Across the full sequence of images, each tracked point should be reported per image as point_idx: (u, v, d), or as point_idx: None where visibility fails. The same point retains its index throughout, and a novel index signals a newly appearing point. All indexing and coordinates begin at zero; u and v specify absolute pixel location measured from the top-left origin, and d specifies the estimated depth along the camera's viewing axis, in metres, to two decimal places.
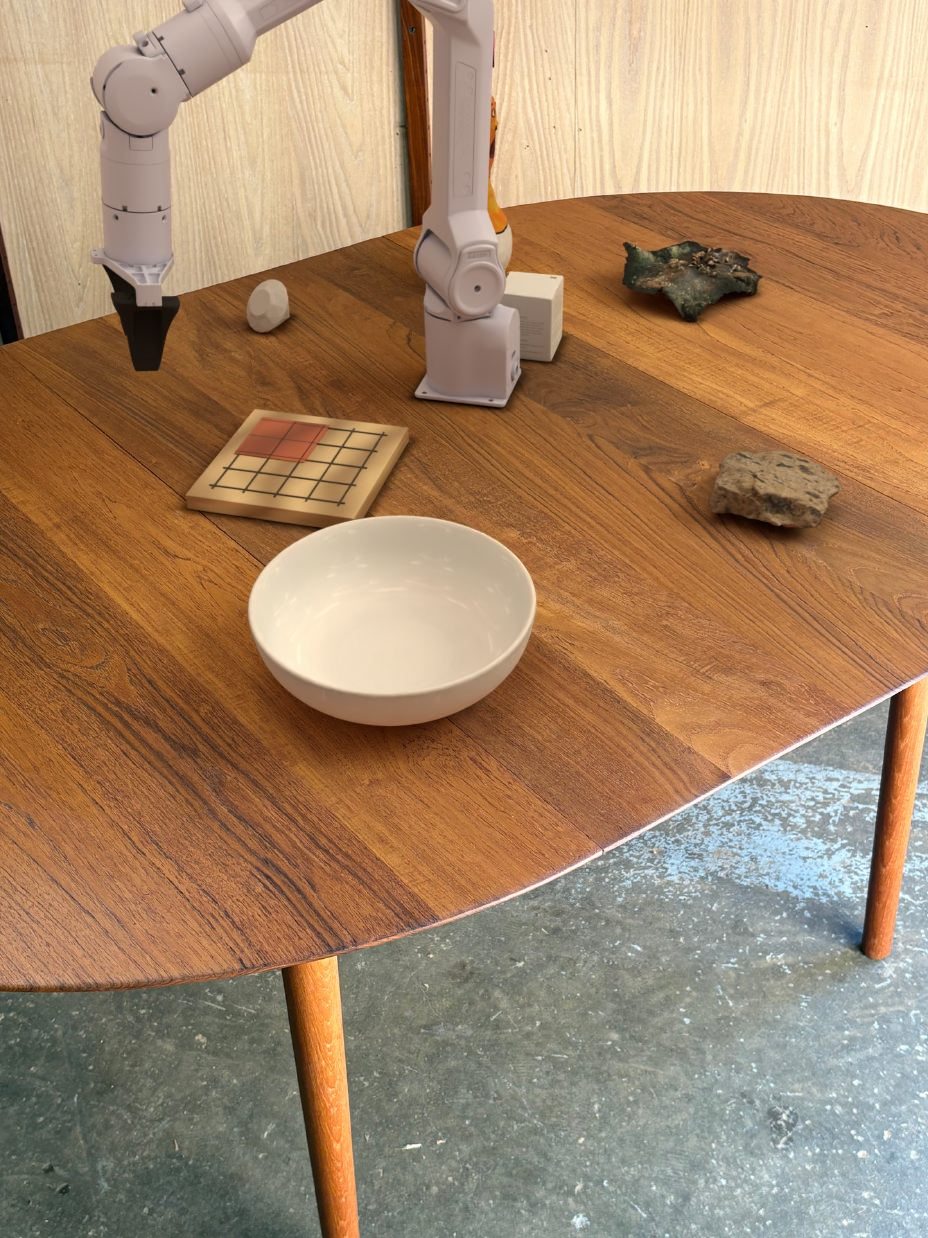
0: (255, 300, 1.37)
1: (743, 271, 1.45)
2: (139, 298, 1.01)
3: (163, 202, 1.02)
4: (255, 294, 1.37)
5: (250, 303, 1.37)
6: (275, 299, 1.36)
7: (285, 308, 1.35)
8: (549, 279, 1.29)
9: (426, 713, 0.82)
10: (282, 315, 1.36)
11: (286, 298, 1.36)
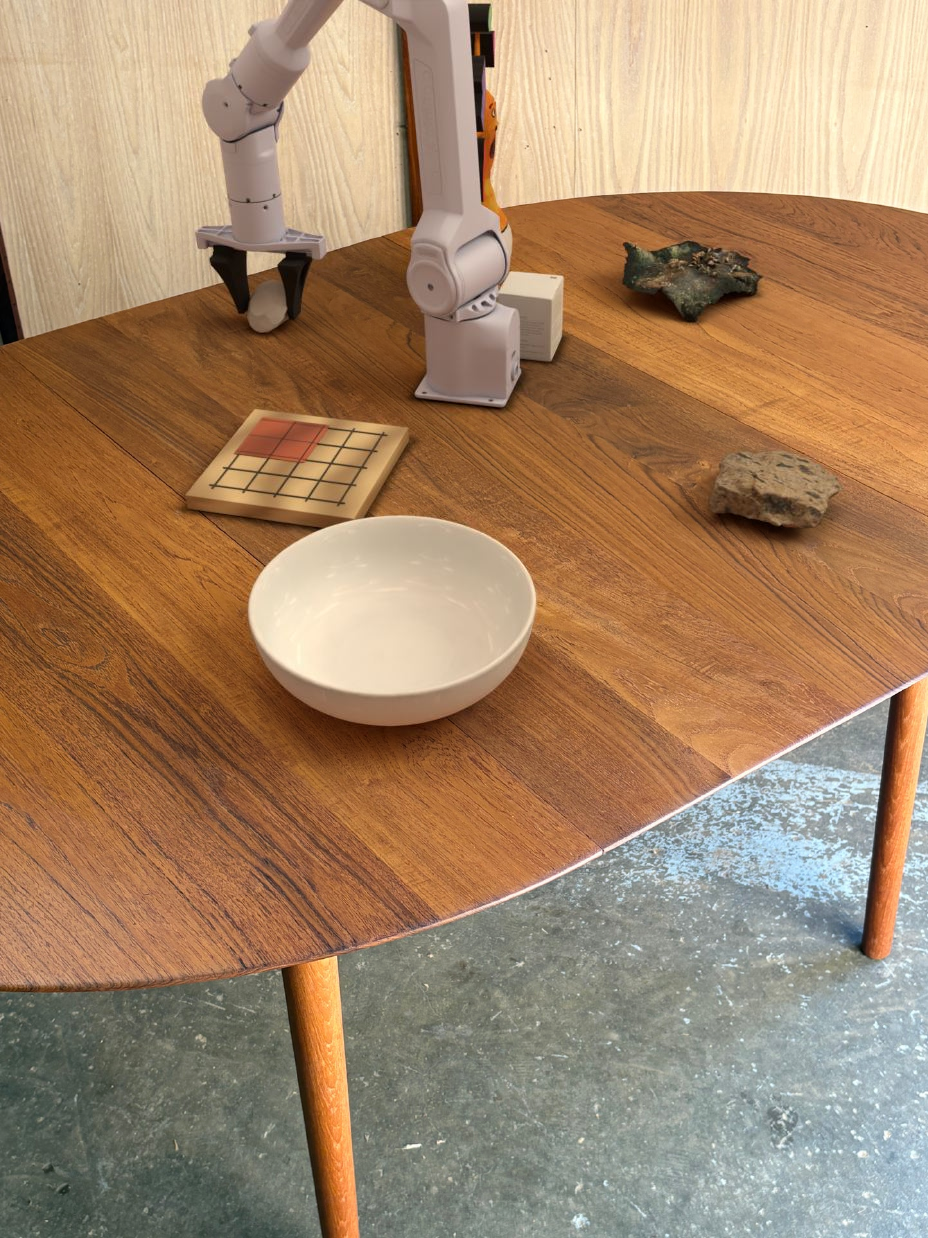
0: (256, 301, 1.37)
1: (743, 271, 1.45)
2: None
3: (252, 196, 1.27)
4: (255, 294, 1.37)
5: (250, 303, 1.37)
6: (275, 299, 1.35)
7: (285, 308, 1.35)
8: (549, 279, 1.29)
9: (426, 713, 0.82)
10: (282, 315, 1.35)
11: None
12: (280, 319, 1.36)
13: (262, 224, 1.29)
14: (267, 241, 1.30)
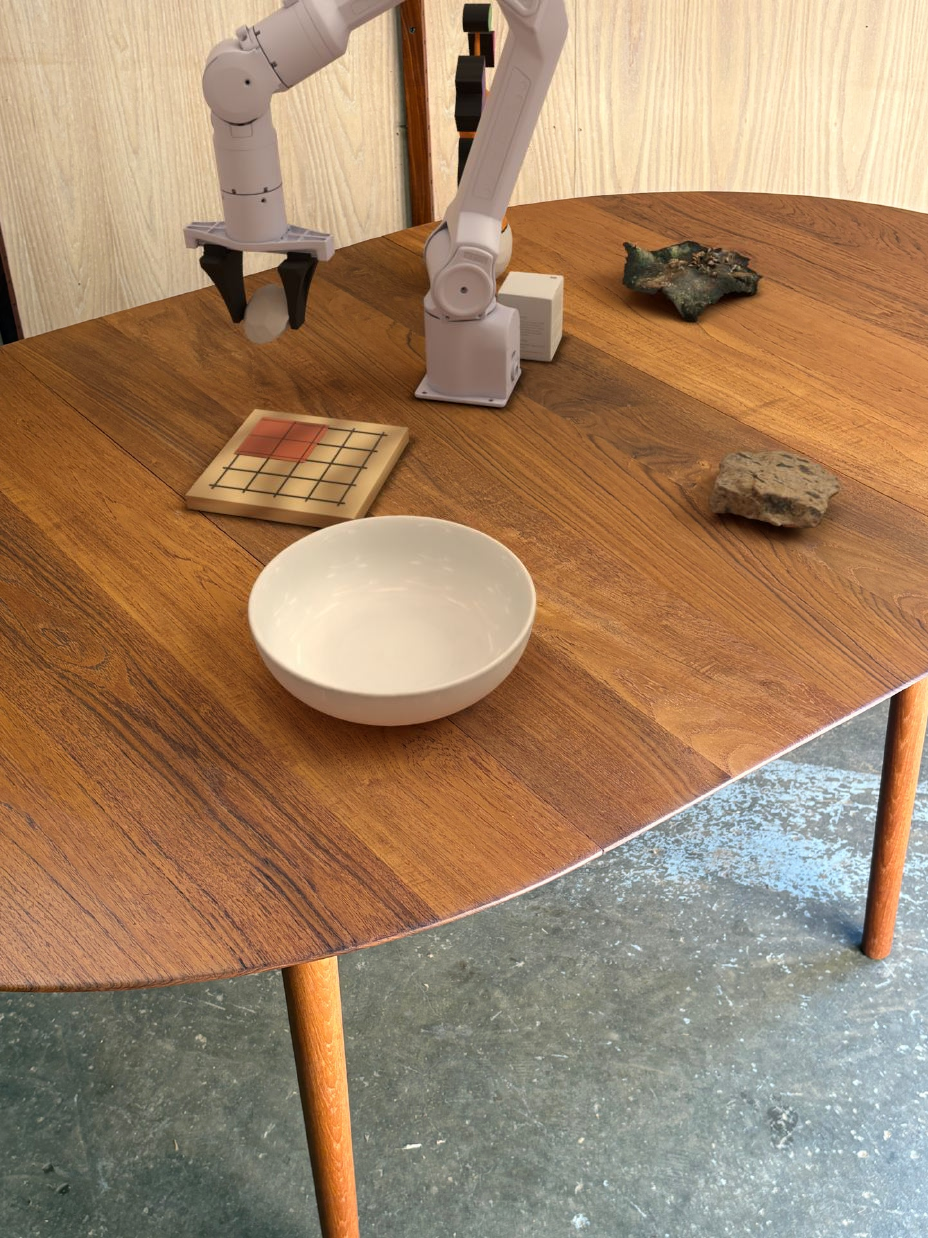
0: (253, 308, 1.19)
1: (743, 271, 1.45)
2: None
3: (269, 183, 1.10)
4: (253, 301, 1.19)
5: (247, 311, 1.19)
6: (275, 306, 1.18)
7: (287, 317, 1.18)
8: (549, 279, 1.29)
9: (426, 713, 0.82)
10: (283, 325, 1.18)
11: None
12: (281, 329, 1.18)
13: (260, 219, 1.11)
14: (265, 240, 1.12)
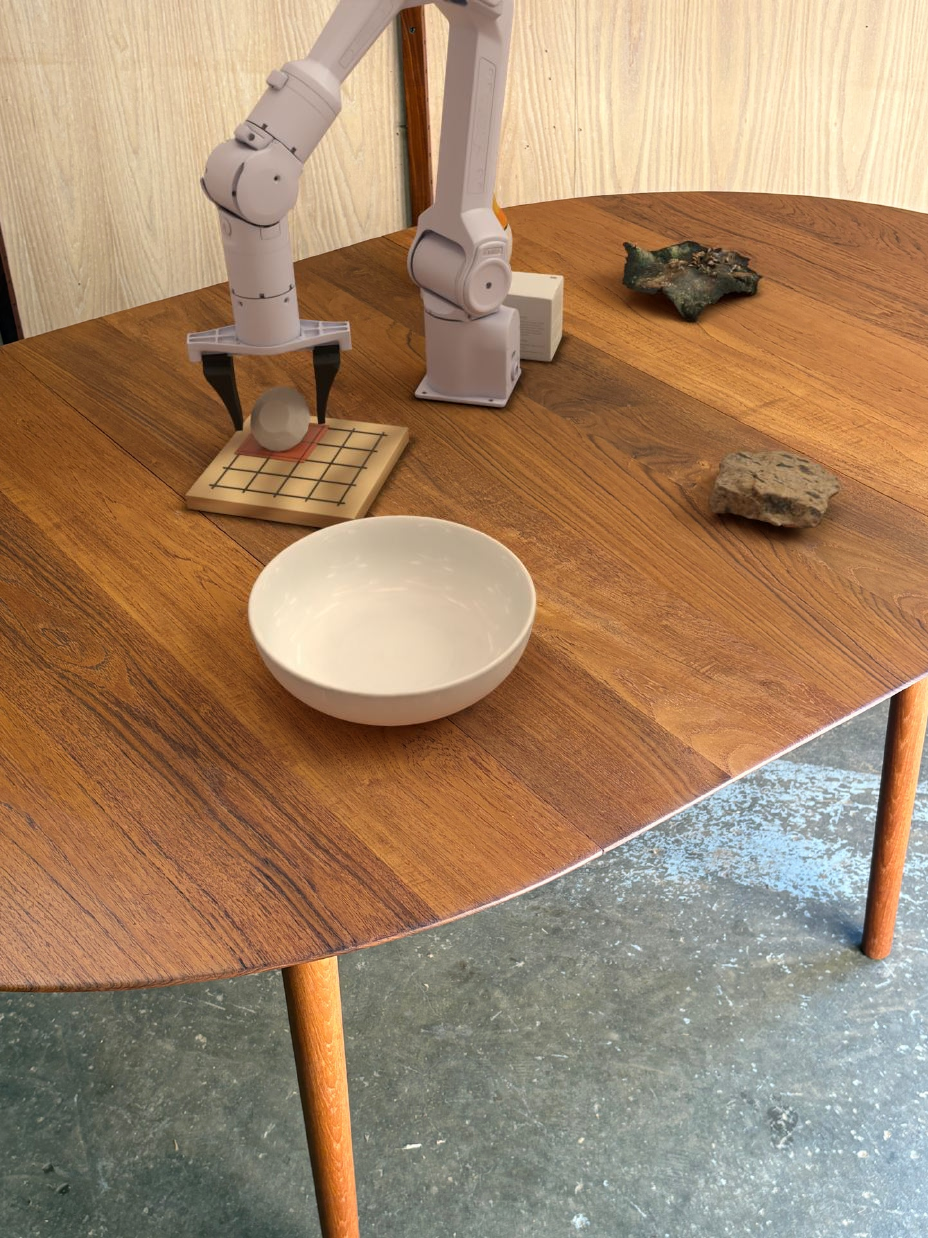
0: (267, 415, 1.13)
1: (743, 271, 1.45)
2: None
3: (292, 280, 1.05)
4: (264, 408, 1.13)
5: (260, 419, 1.14)
6: (294, 409, 1.13)
7: (308, 418, 1.13)
8: (549, 279, 1.29)
9: (426, 713, 0.82)
10: (307, 427, 1.13)
11: (306, 406, 1.13)
12: (305, 431, 1.13)
13: (284, 320, 1.06)
14: (289, 339, 1.07)
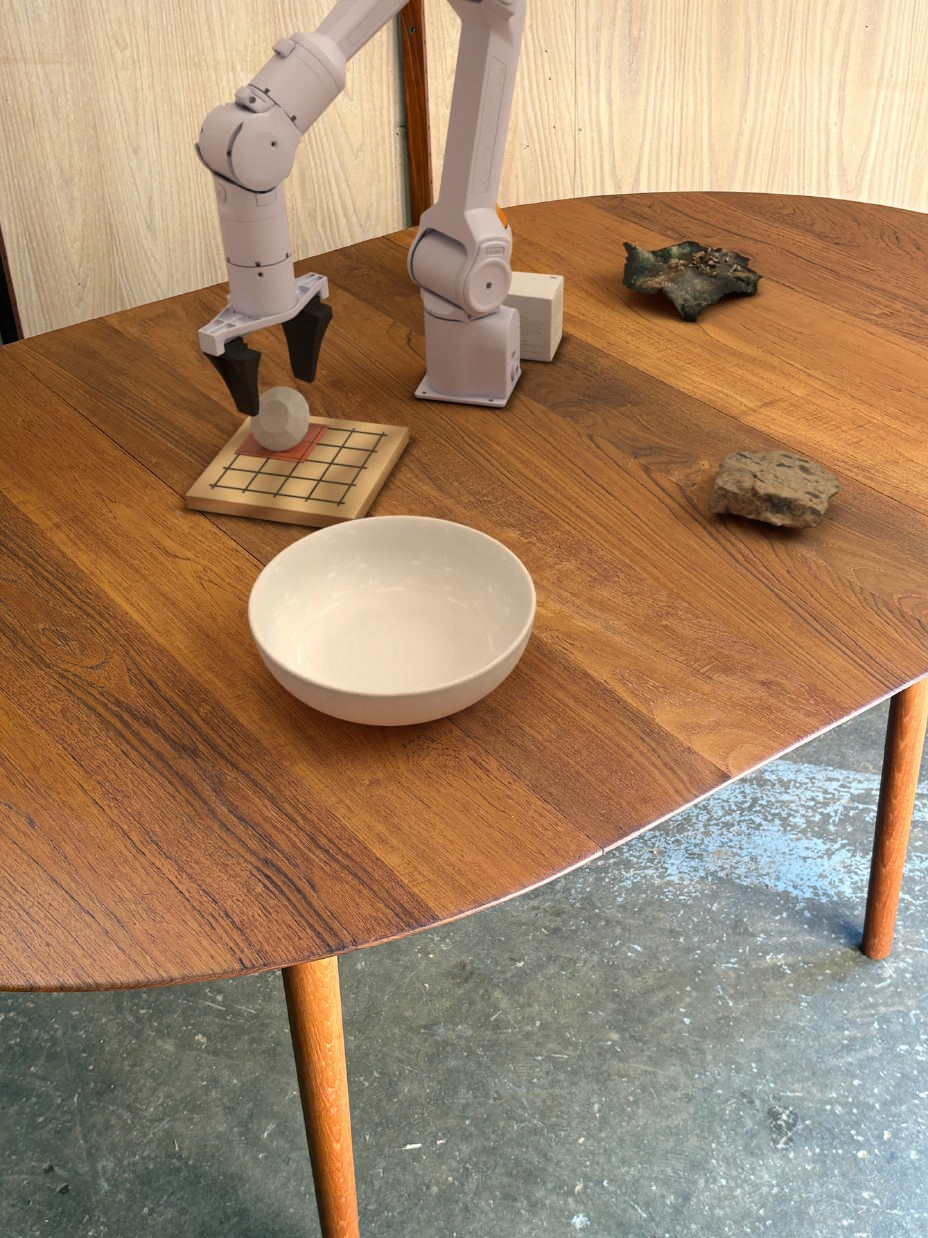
0: (267, 415, 1.13)
1: (743, 271, 1.45)
2: (200, 343, 1.04)
3: (288, 248, 1.04)
4: (264, 408, 1.13)
5: (260, 419, 1.14)
6: (294, 409, 1.13)
7: (308, 418, 1.13)
8: (549, 279, 1.29)
9: (426, 713, 0.82)
10: (307, 427, 1.13)
11: (306, 406, 1.13)
12: (305, 431, 1.13)
13: (294, 279, 1.06)
14: (297, 299, 1.07)
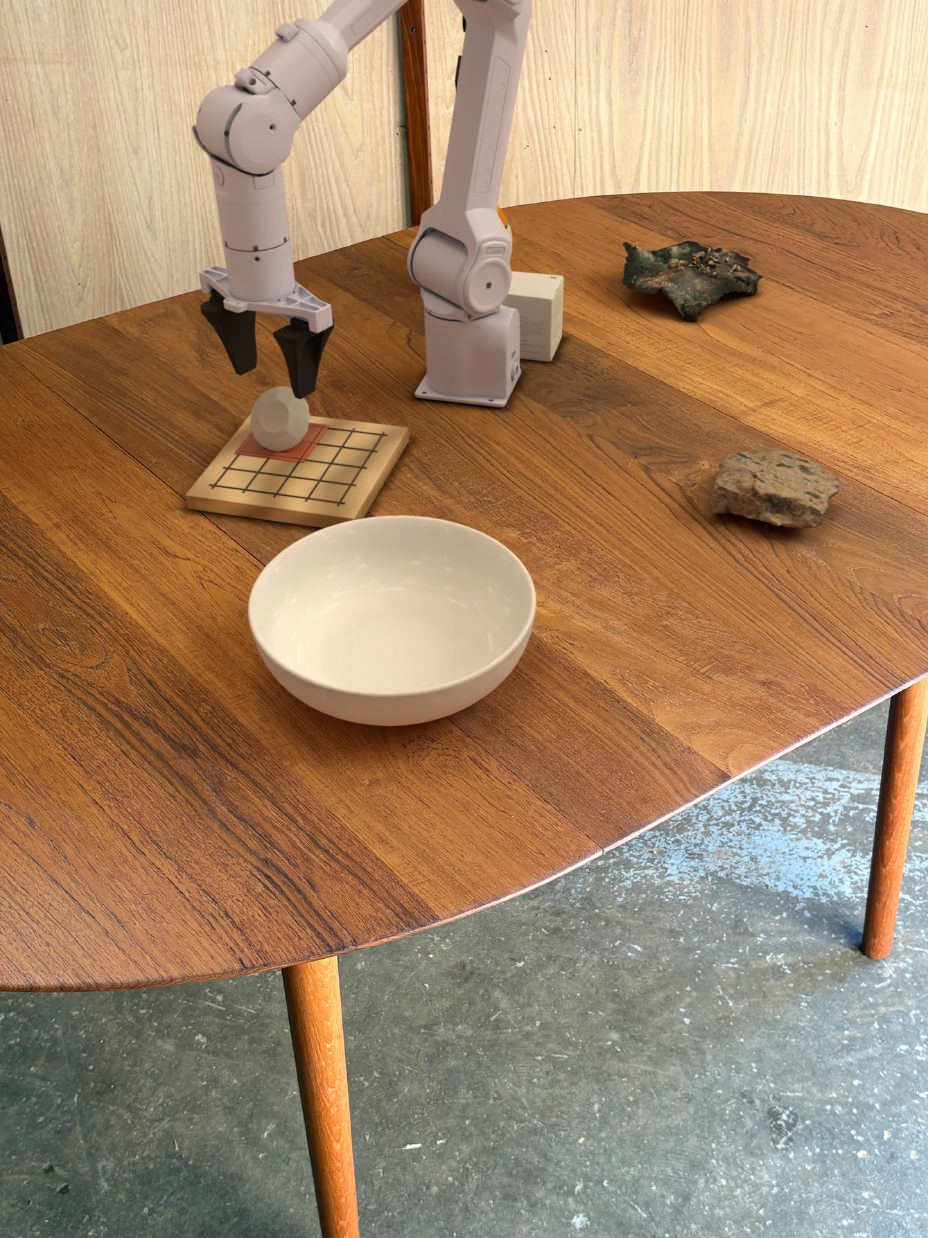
0: (267, 415, 1.13)
1: (743, 271, 1.45)
2: (317, 325, 1.03)
3: (286, 232, 1.03)
4: (264, 408, 1.13)
5: (260, 419, 1.14)
6: (294, 409, 1.13)
7: (308, 418, 1.13)
8: (549, 279, 1.29)
9: (426, 713, 0.82)
10: (307, 427, 1.13)
11: (306, 406, 1.13)
12: (305, 431, 1.13)
13: None
14: None
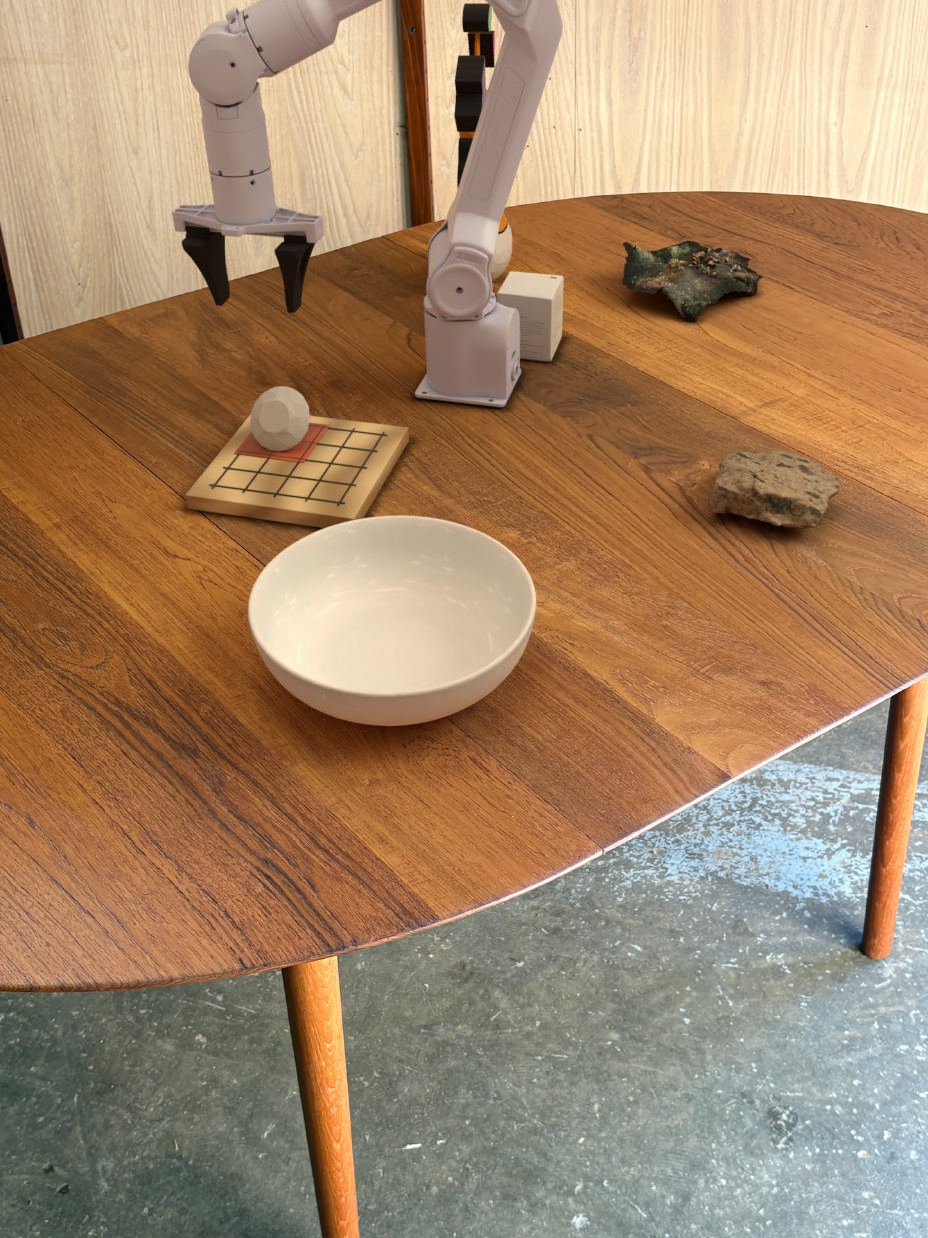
0: (267, 415, 1.13)
1: (743, 271, 1.45)
2: (316, 235, 1.14)
3: (255, 166, 1.10)
4: (264, 408, 1.13)
5: (260, 419, 1.14)
6: (294, 409, 1.13)
7: (308, 418, 1.13)
8: (548, 278, 1.29)
9: (426, 713, 0.82)
10: (307, 427, 1.13)
11: (306, 406, 1.13)
12: (305, 431, 1.13)
13: None
14: None
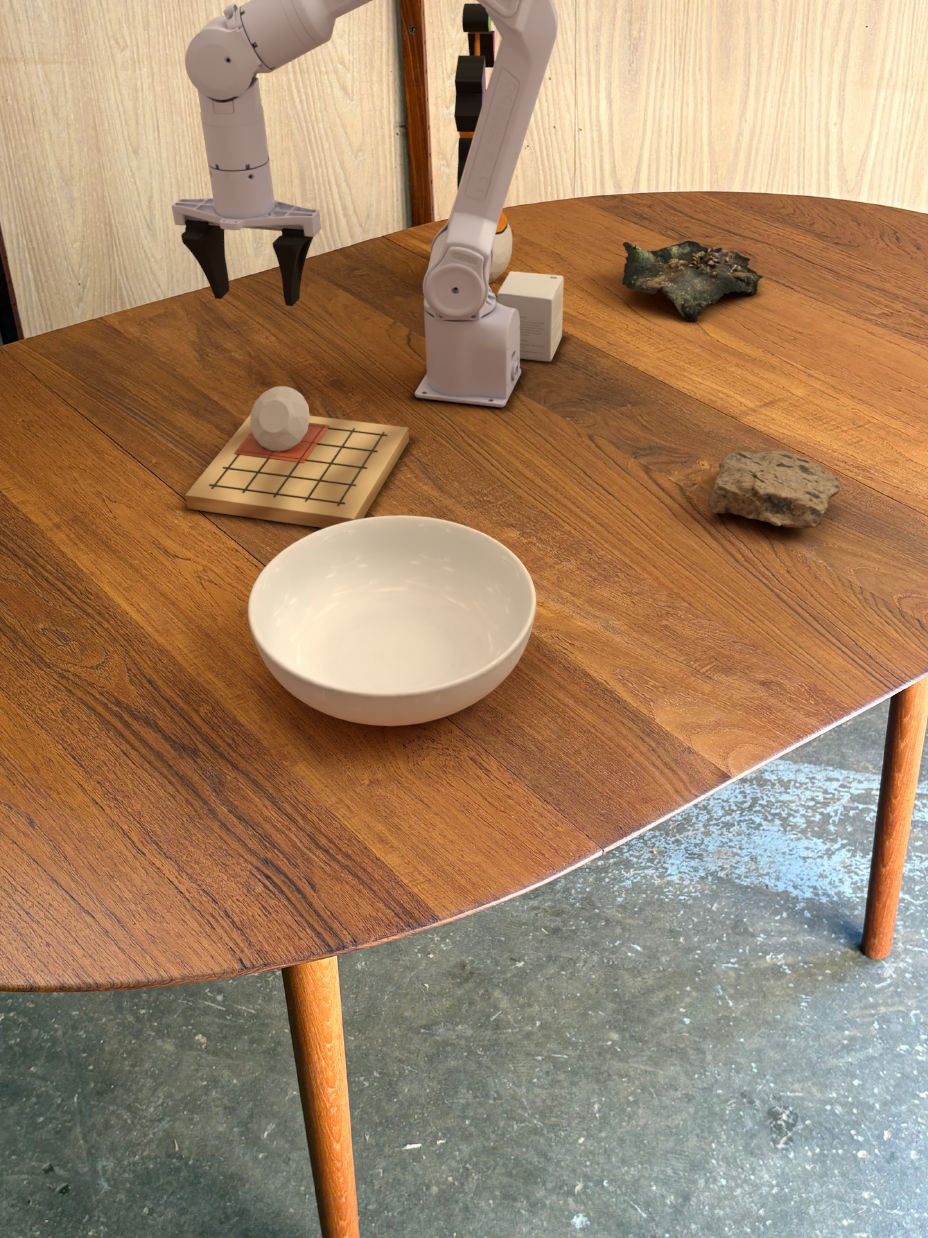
0: (267, 415, 1.13)
1: (743, 271, 1.45)
2: (314, 229, 1.15)
3: (252, 161, 1.11)
4: (264, 408, 1.13)
5: (260, 419, 1.14)
6: (294, 409, 1.13)
7: (308, 418, 1.13)
8: (549, 279, 1.29)
9: (426, 713, 0.82)
10: (307, 427, 1.13)
11: (306, 406, 1.13)
12: (305, 431, 1.13)
13: None
14: None
